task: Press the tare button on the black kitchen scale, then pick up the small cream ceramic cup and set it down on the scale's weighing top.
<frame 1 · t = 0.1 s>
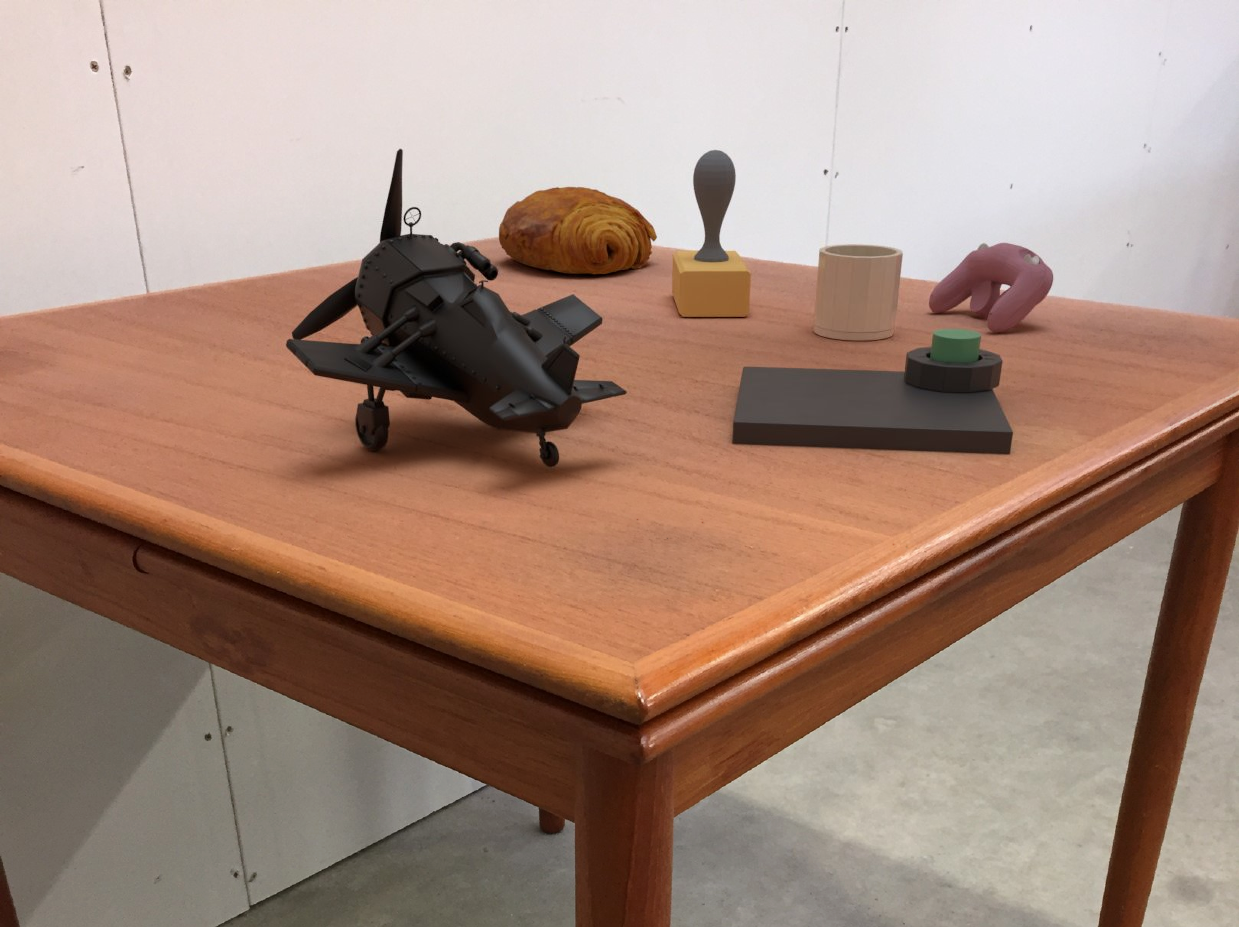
rubber stamp: (708, 308, 115), on the table
croissant: (579, 267, 132), on the table
cup: (853, 332, 106), on the table
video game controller: (986, 323, 110), on the table
scale: (865, 418, 84), on the table
airplane toy: (475, 448, 79), on the table
tare button: (955, 347, 85), point 4 cm above the table, slide at 0.1 cm
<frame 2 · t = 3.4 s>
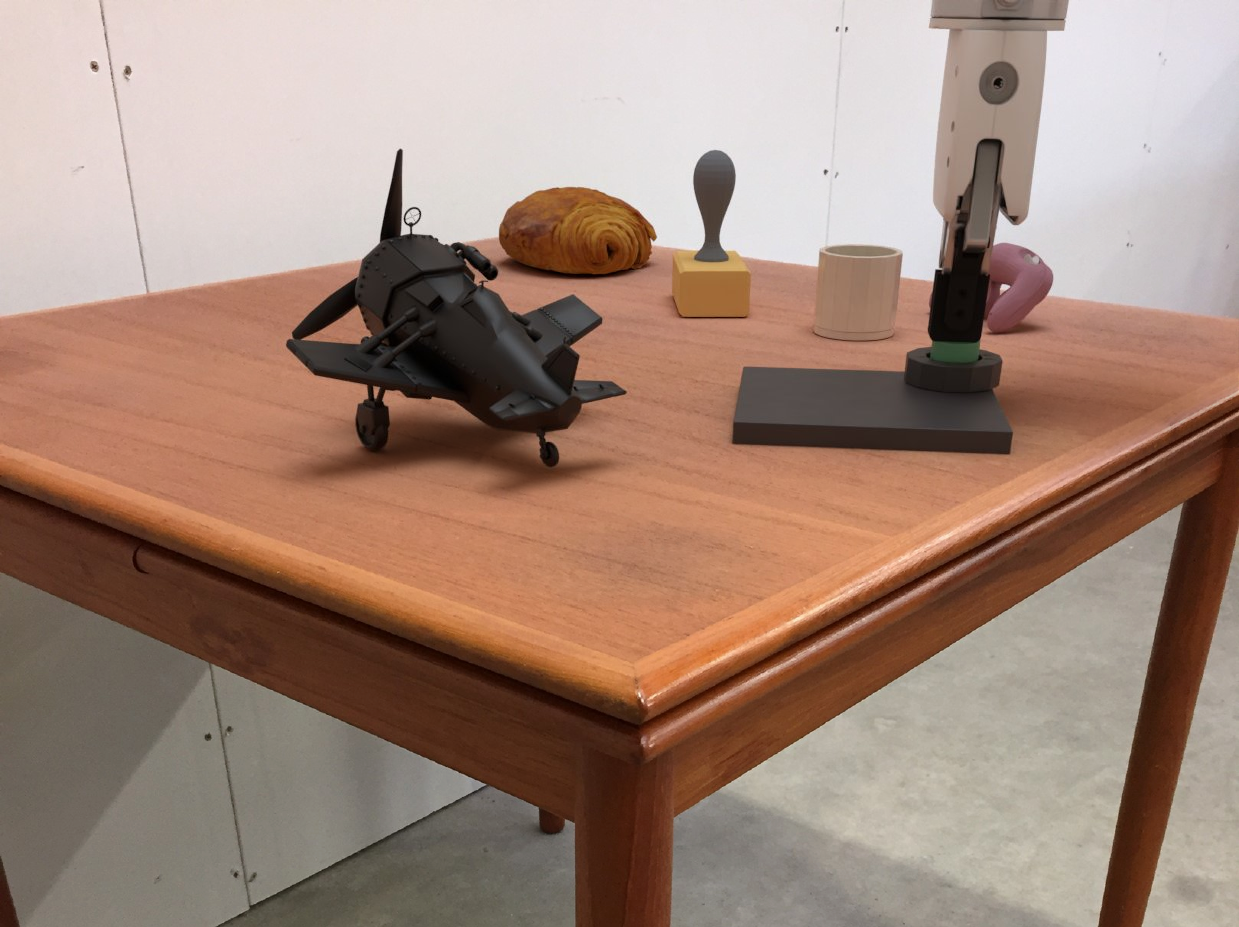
hand: (953, 338, 85), 4 cm above the table, tool pointing down, fingers closed
tare button: (954, 353, 86), point 3 cm above the table, slide at -0.2 cm, touching gripper
everything else where it was.
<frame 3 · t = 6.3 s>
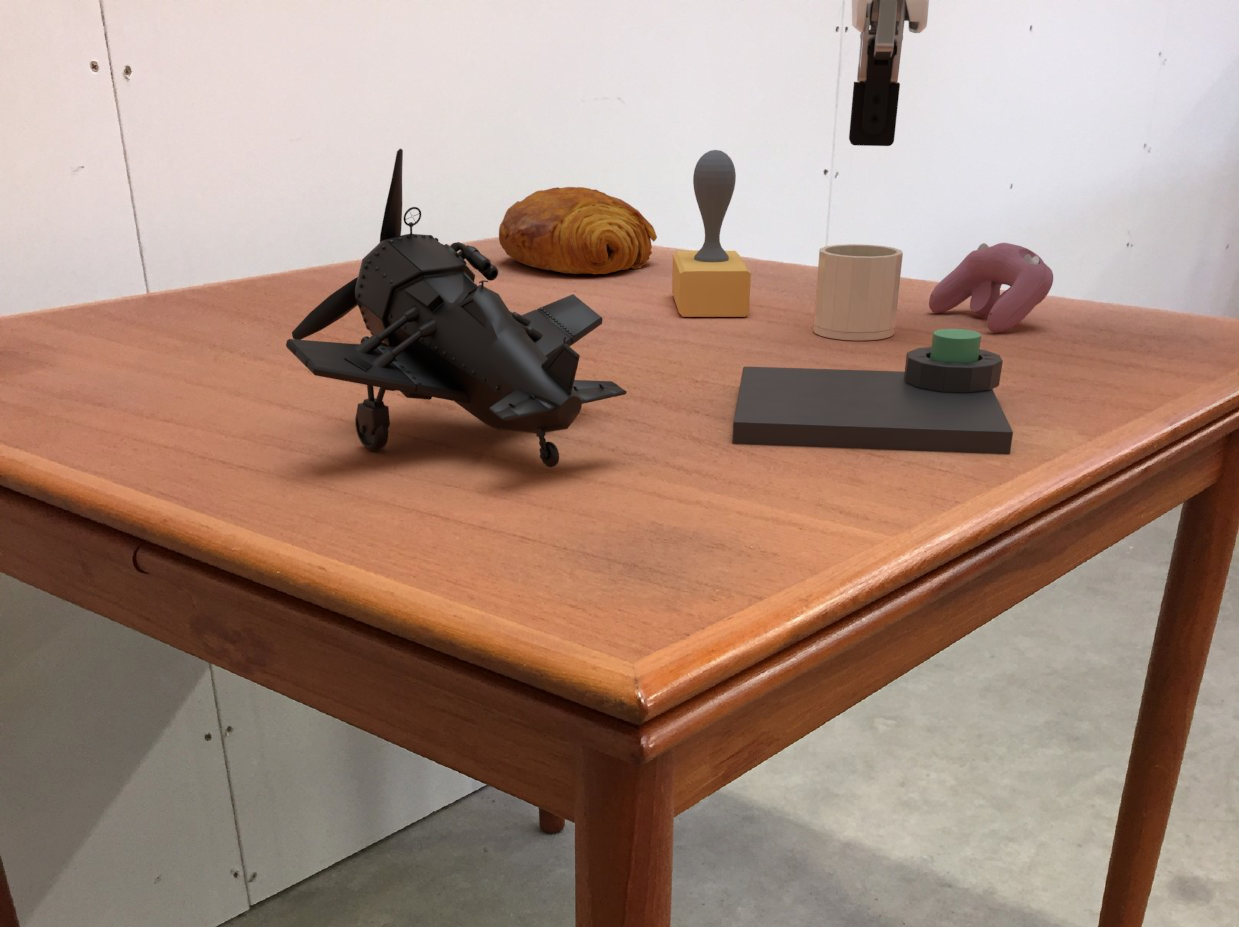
hand: (870, 143, 98), 13 cm above the table, tool pointing down, fingers closed
tare button: (955, 347, 85), point 4 cm above the table, slide at 0.1 cm
everything else where it was.
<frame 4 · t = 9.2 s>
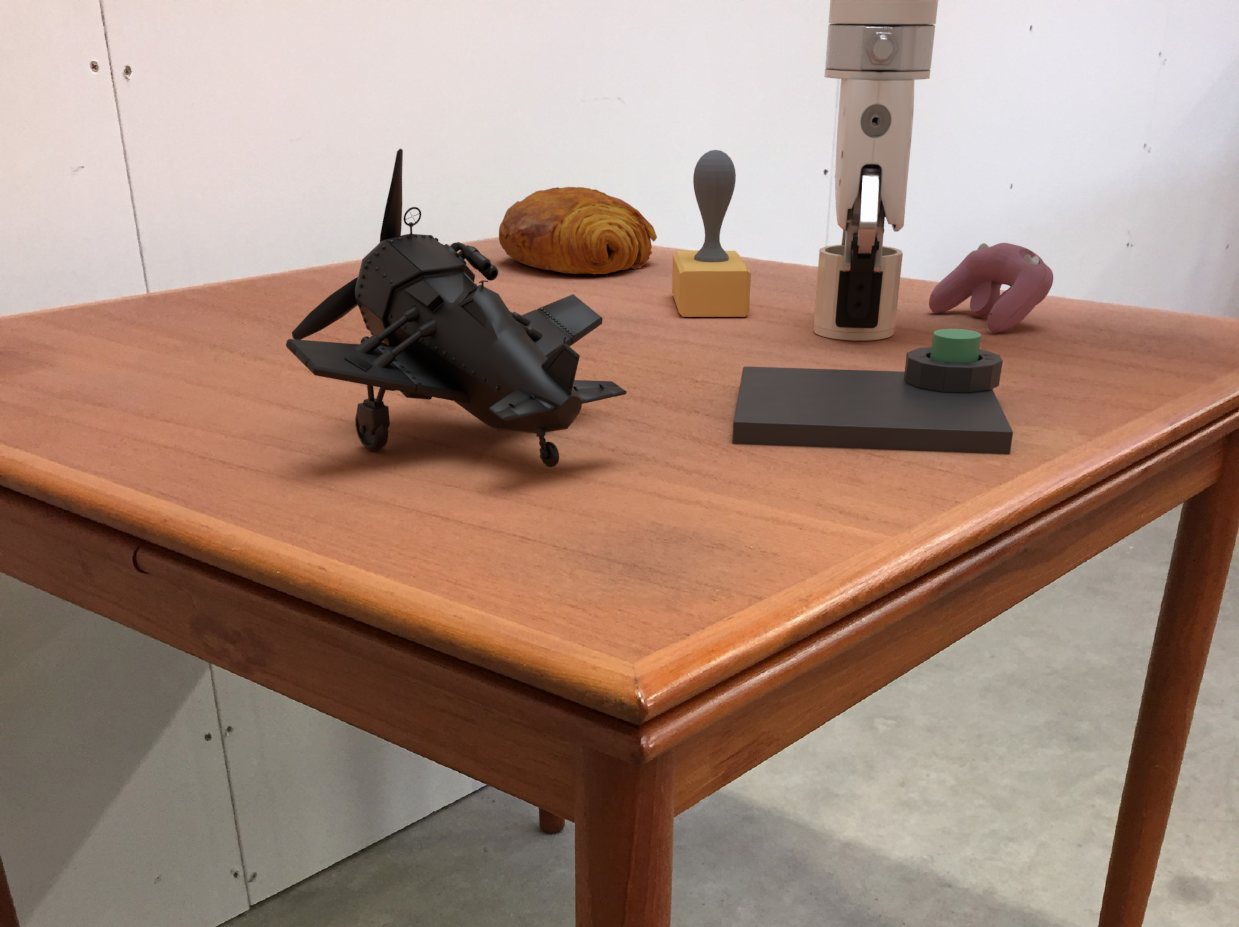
hand: (854, 315, 105), 1 cm above the table, tool pointing down, fingers closed on cup, 6 cm apart
cup: (853, 332, 106), on the table, touching gripper
everything else where it was.
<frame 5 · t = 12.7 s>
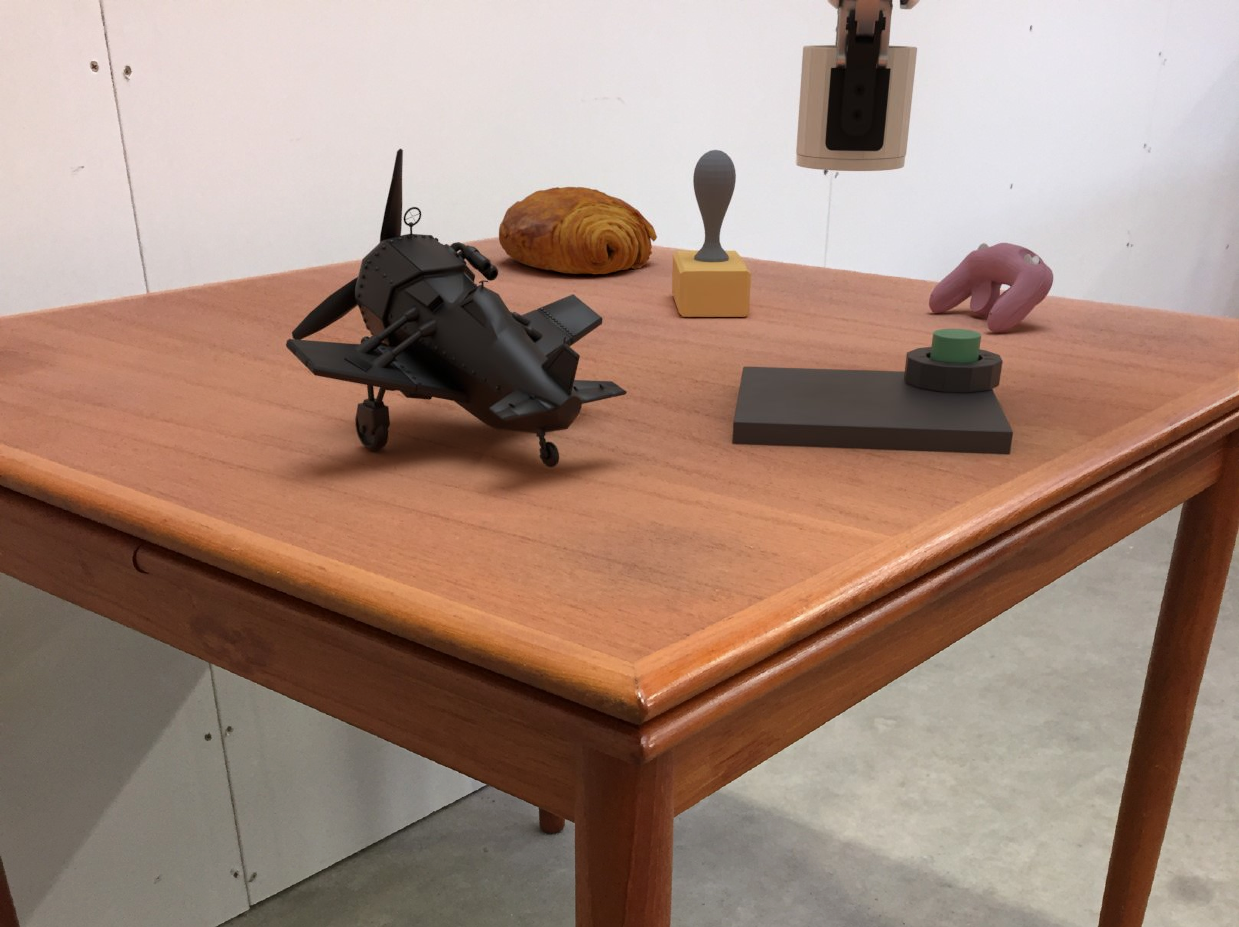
hand: (852, 141, 78), 15 cm above the table, tool pointing down, fingers closed on cup, 6 cm apart
cup: (849, 165, 78), point 14 cm above the table, touching gripper
everything else where it was.
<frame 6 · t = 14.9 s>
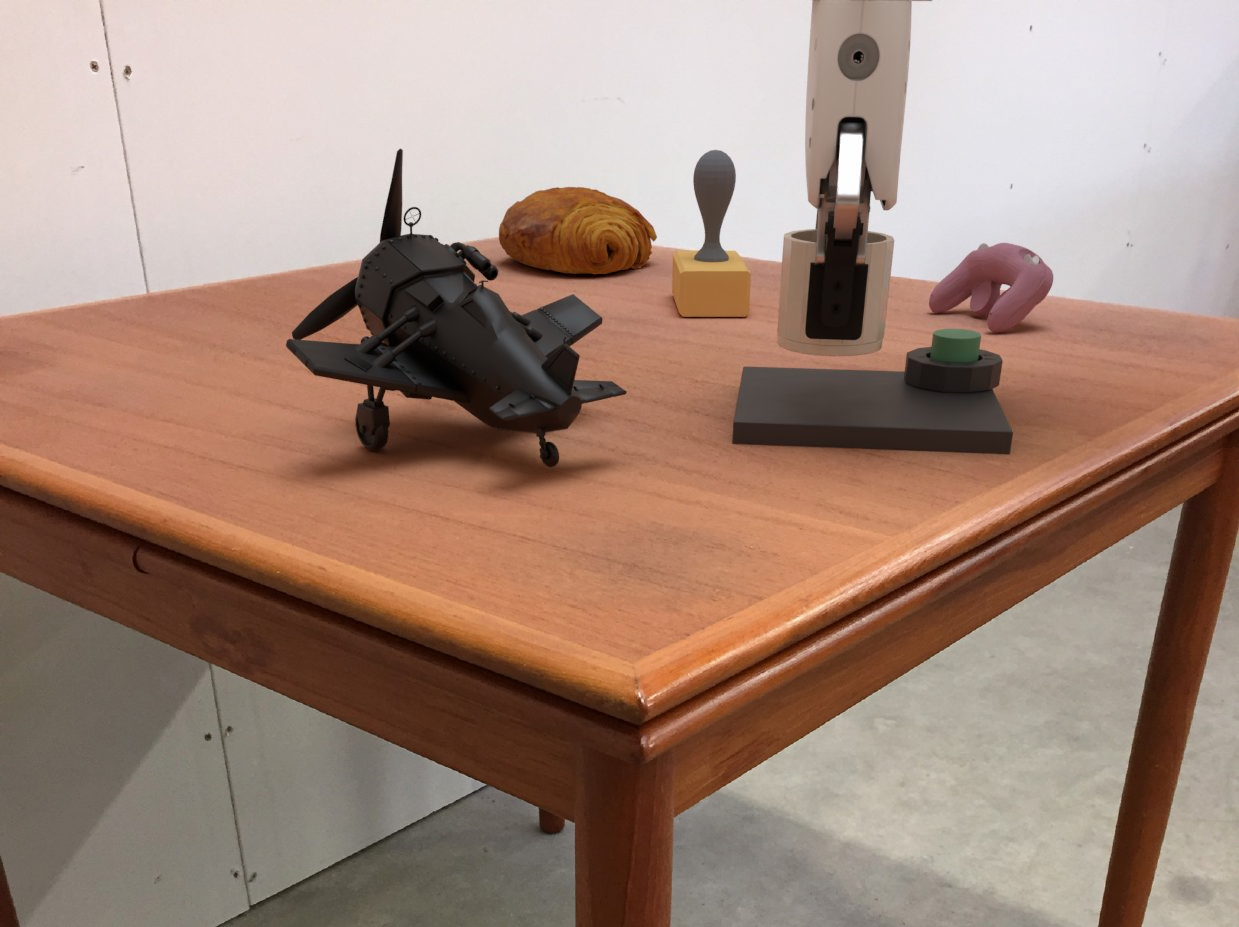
hand: (832, 322, 80), 6 cm above the table, tool pointing down, fingers closed on cup, 6 cm apart
cup: (829, 344, 80), point 5 cm above the table, touching gripper
everything else where it was.
when the fingers open (3 cm above the table, at t = 16.3 s): cup stays where it is, resting on scale.
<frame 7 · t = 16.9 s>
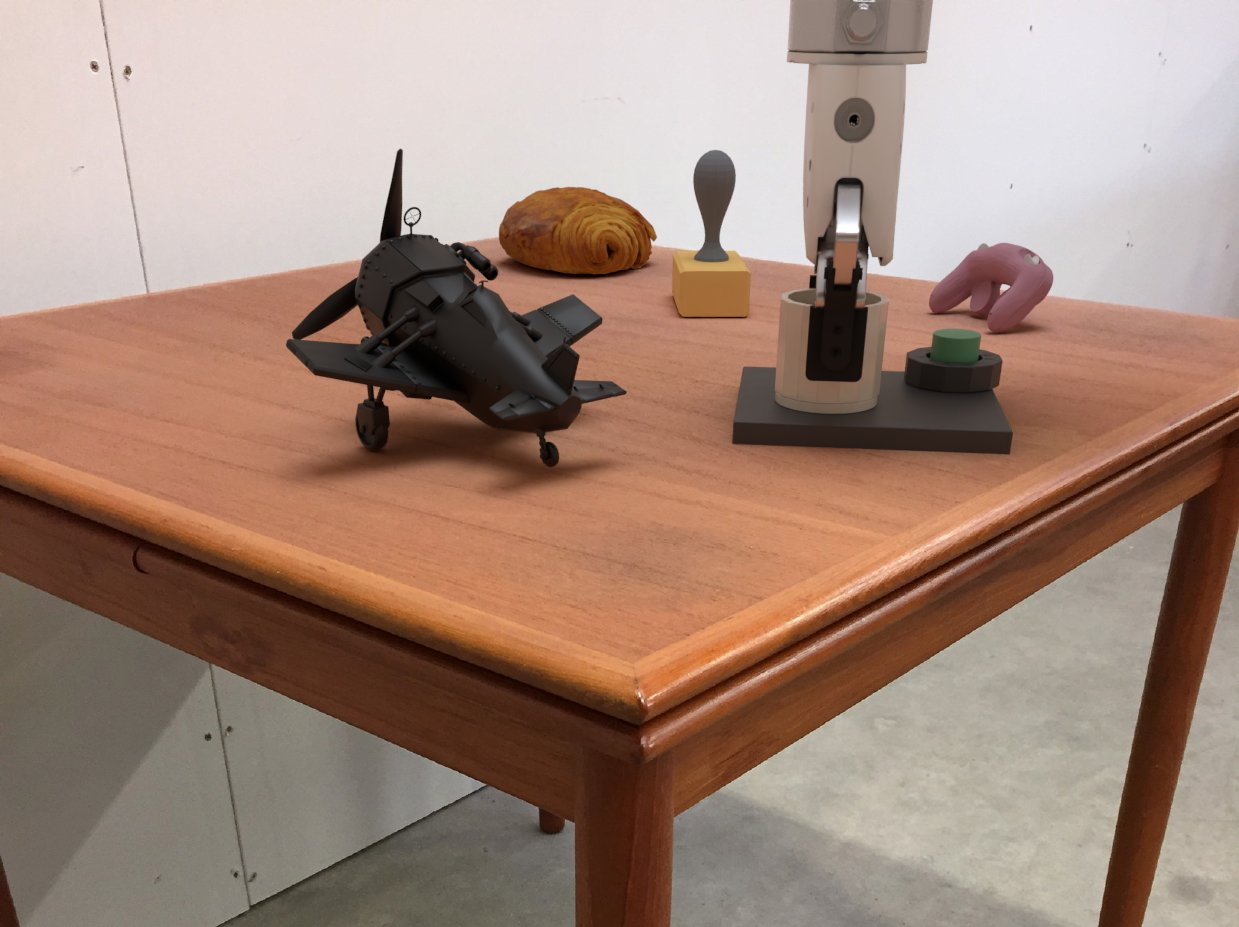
hand: (831, 360, 81), 4 cm above the table, tool pointing down, fingers open, 9 cm apart
cup: (825, 400, 82), point 1 cm above the table, touching scale
everything else where it was.
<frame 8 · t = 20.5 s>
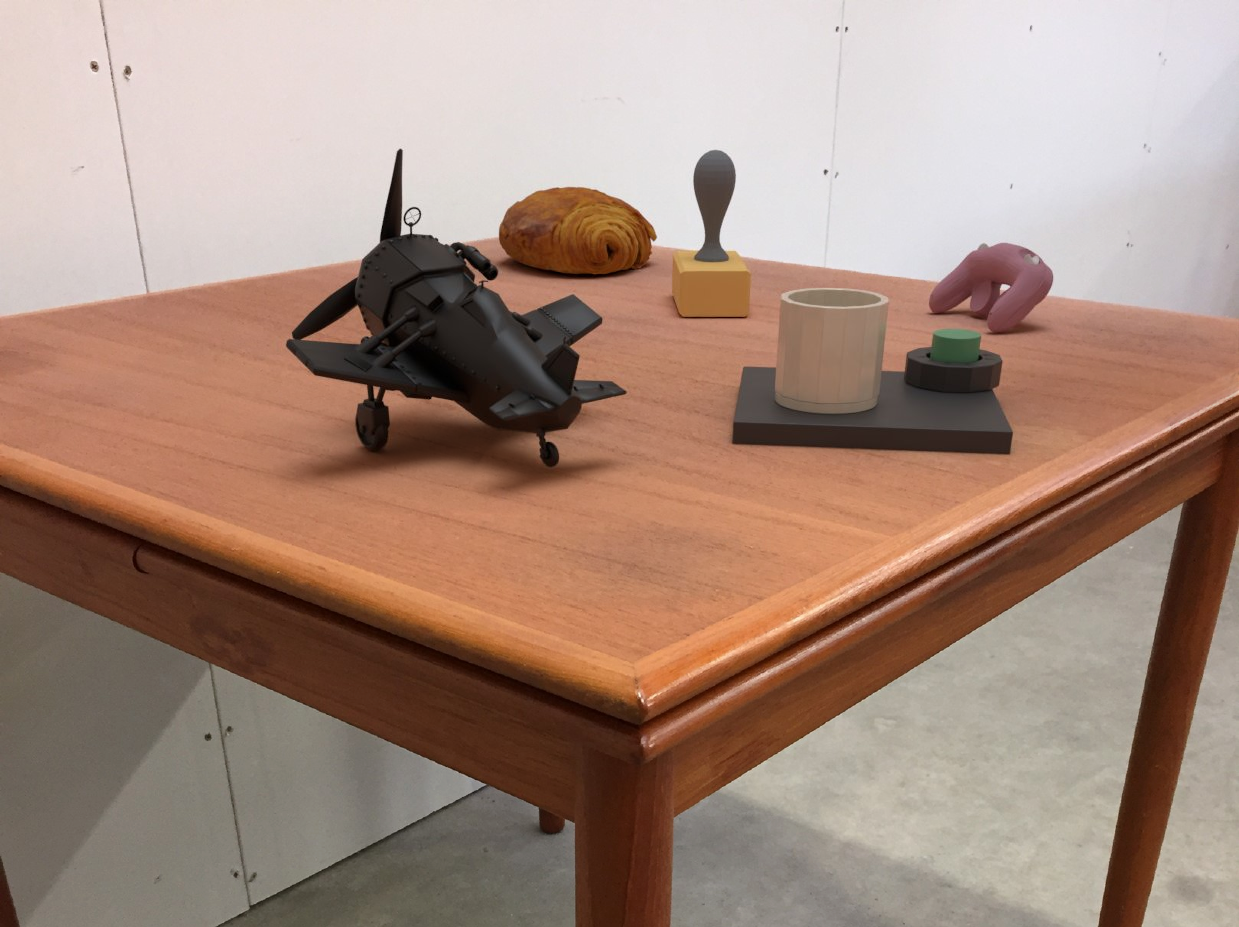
nothing on the table moved.
at the end: tare button pushed in 1.0 cm at the most during the clip, back to where it started at the end; cup inside the target area on the scale (0.1 cm from its centre), point 1.4 cm above the scale's base; cup touching scale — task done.
